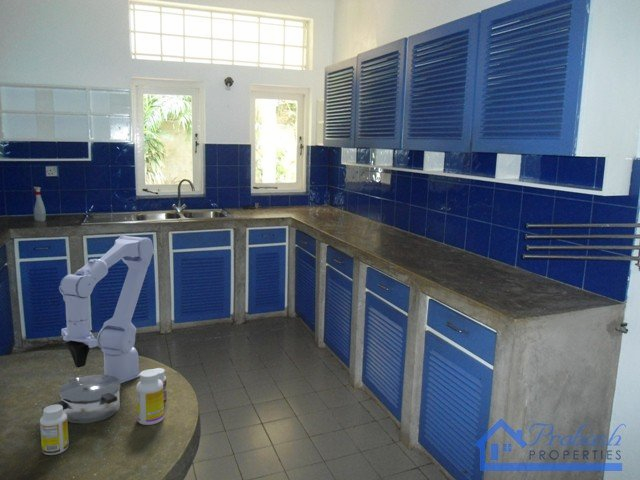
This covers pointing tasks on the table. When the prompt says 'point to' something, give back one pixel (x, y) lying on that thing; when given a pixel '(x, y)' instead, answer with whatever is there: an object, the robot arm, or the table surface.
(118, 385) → the cooker lid
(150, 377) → the supplement bottle
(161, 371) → the pill bottle
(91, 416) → the cooker pot
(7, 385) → the table surface
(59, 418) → the supplement bottle
